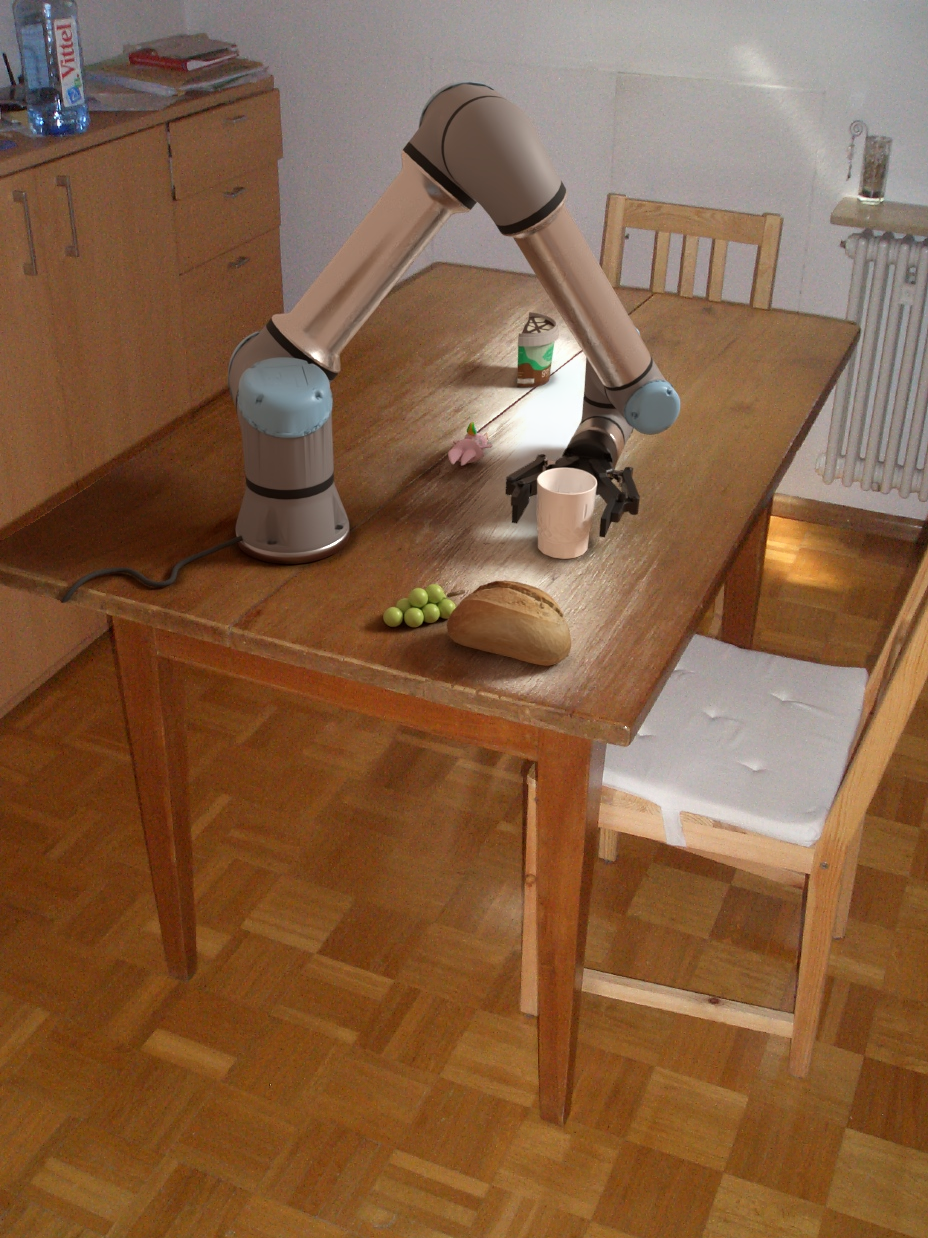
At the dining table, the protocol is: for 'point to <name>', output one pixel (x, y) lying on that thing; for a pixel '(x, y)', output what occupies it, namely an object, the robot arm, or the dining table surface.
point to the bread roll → (512, 623)
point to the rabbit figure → (469, 447)
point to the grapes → (421, 607)
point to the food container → (536, 350)
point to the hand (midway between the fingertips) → (558, 520)
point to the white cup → (565, 511)
